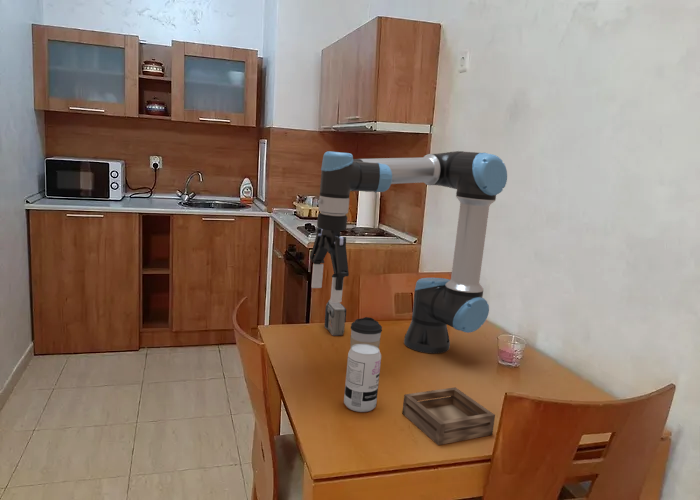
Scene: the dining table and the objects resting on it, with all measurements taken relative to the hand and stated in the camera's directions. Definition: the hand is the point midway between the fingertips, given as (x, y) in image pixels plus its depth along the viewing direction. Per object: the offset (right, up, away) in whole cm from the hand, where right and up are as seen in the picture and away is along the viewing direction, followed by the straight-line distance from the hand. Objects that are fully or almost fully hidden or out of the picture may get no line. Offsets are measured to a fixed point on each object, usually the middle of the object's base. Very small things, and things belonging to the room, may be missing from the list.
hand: (325, 294), depth 145 cm
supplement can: (+9, -28, -5) cm, 29 cm away
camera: (+1, -17, +49) cm, 52 cm away
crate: (+29, -30, -11) cm, 44 cm away
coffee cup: (+10, -23, +17) cm, 31 cm away
